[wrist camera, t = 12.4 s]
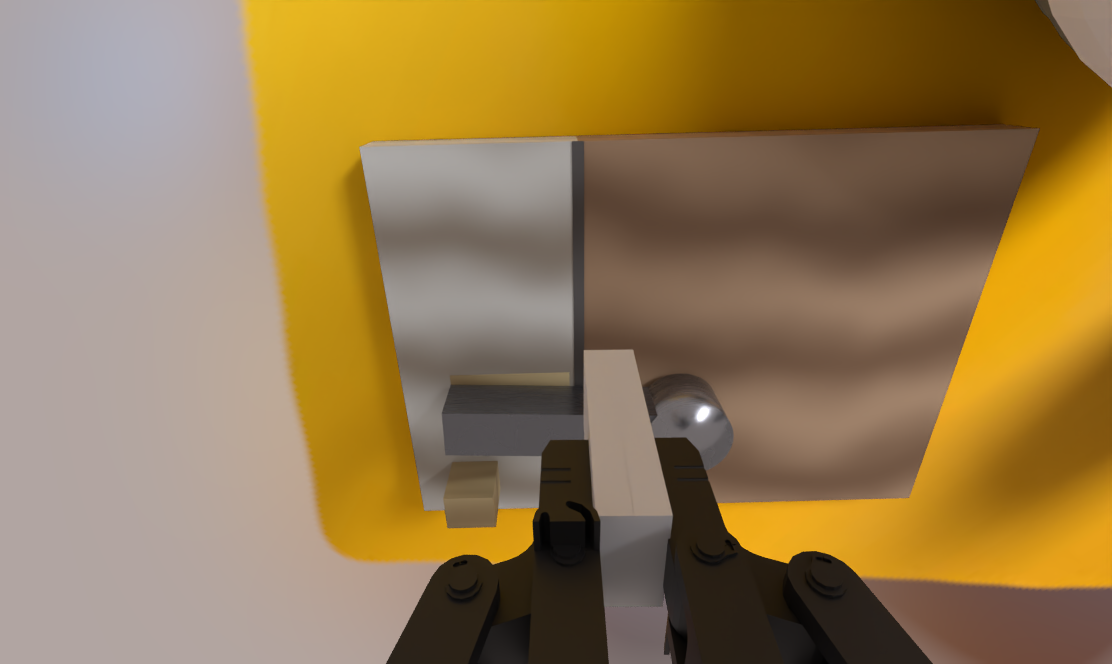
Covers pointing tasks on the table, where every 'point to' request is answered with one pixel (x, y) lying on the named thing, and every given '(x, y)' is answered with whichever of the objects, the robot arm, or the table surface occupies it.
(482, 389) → the door lever handle
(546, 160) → the board
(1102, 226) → the table surface
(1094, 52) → the bowl
